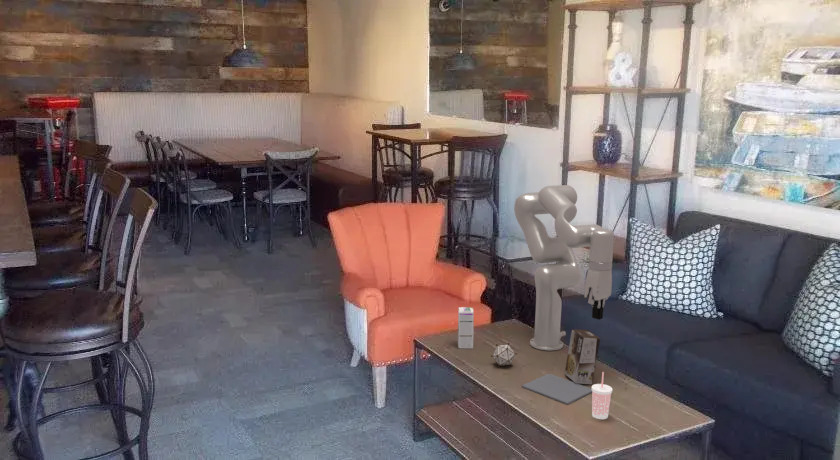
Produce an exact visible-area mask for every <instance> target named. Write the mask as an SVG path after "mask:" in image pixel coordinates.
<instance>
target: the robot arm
mask: <svg viewBox="0 0 840 460" xmlns="http://www.w3.org/2000/svg"><path fill="white" fill-rule="evenodd" d="M577 202H578V194H577V191H576V190H575V188H574V187H572V186H571V185H567V184H562V185H561V184H560V185H556V184H555V185H548V186H544V187H543V188H541V189H540V190H539V191H538V192H537V191H536V192H526V193H523V194H520V195H519V196H517V198H516V199H515V201H514V207H513V208H514V216H515V219H516V221H517V223H518V224H519V227H520V229H521V231H522V232H523V235H524V238H525V241H526V244H527V247H528V249H529V253H530V256H531V258H532V260H533V261H534V262H535V263H537V264H544V265H540V266H539V267H537V268H536V270H535V272H534V282H535V283H534V284H535V291H536V293H535V296H536V297H535V316H534V317H535V318H534V319H535V320H534V335H533V337H532V338H530V340H529V344H530V346H531V347H533V348H534V349H537V350H541V351H551V352H552V351H559V350H561V349H563V347H564V342H563V341H562V340H561V339H562V337H565V336H566V335H567V332H566V331H565V330H561V321H562V319H561V318H562V303H563V302H562V298H561V296H560V294H559V292H558V290H562V289H569V288H573V287H576V286H578V285H579V284H580V282H581V270H580V267H579V264H578V261H577V257H576V256H575V253H574V250H573V249H578V248H586V247H587V248H589V257H588V258H589V259H588V260H589V261H588V270H587V273H586V277H585V279H586V280H585V284H584V293H583V294H584V296H583V297H584V299H587V300H588V301H587V304H589V305H591V307H592V311H591V312H592V313H591V318H593V319H594V320H595V319H596V320H602V319H603V318H604V307H605V303H606V301H607V300H608V299H609V297H610V296H611V295H612V291H613V289H612V287H613V286H612V285H613V276H612V275H613V274H612V273H613V272H612V269H613V259H614V258H613V255H614V238H615V237H614V235H615V234H614V231H613V230H611V229H609V228H604V227H602V226H600V225H599V224H581V225H572V224H571V222H572V221H574V219H575V218H576V216H577V214H578V213H577V212H578V209H577V206H576V203H577ZM536 215H550V216H552V218H554V230H555V231H554V232H555V233H556V236H553V237H551V236H550V235H549V233H548V231H547V227H546V226H545V224H544V223H543V222H542V220H540V219H539V218H538V217H537V216H536Z"/></svg>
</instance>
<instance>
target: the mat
mask: <svg viewBox="0 0 840 460" xmlns="http://www.w3.org/2000/svg"><path fill="white" fill-rule="evenodd" d="M521 388H523V389H526V390H528V391H530V392H533V393H536V394H538V395H541V396H543V397H546V398H549V399H551V400H554V401H557V402H559V403H562V404H565V405H567V406H568V405H570V404H573V403H574V402H577V401H578V400H580V399H582V398H584V397H586V396H588V395H590V394H592V390H591V389H592V388H590V387H588V386H585V385H584V384H576V383H575V382H574V381H572V380H568V379H566V378H563V377H560V376H557V375H555V374H552V373H547V374H543V375H542V376H539V377H538V378H536V379H533V380H531V381H529V382H527V383H524V384H522V385H521Z"/></svg>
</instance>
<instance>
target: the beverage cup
mask: <svg viewBox="0 0 840 460" xmlns="http://www.w3.org/2000/svg"><path fill="white" fill-rule="evenodd" d="M601 374H602V375H601V382H600V383H595V384H591V385H592V386H591V390H592V393H591V395H592V396H591V398H592V399H591V416H592V417H593V418H595V419H597V420H606V419H608V418H609V412H610V403H611V398H612V397H611V396H612V393H613V388H612V386H610V385H608V384H604V375H605V371H602V372H601Z"/></svg>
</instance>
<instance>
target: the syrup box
mask: <svg viewBox="0 0 840 460" xmlns="http://www.w3.org/2000/svg"><path fill="white" fill-rule="evenodd" d="M457 312H458V314H457V317H458V318H457V319H458V320H457V348H458V349H463V350H464V349H469V350H471V349H472V350H473V349H474V331H475V329H474V318H475V317H474V314H475V313H474V307H469V306H468V307H467V306H463V307H462V306H461V307H460V306H459V307H458V311H457Z"/></svg>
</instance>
